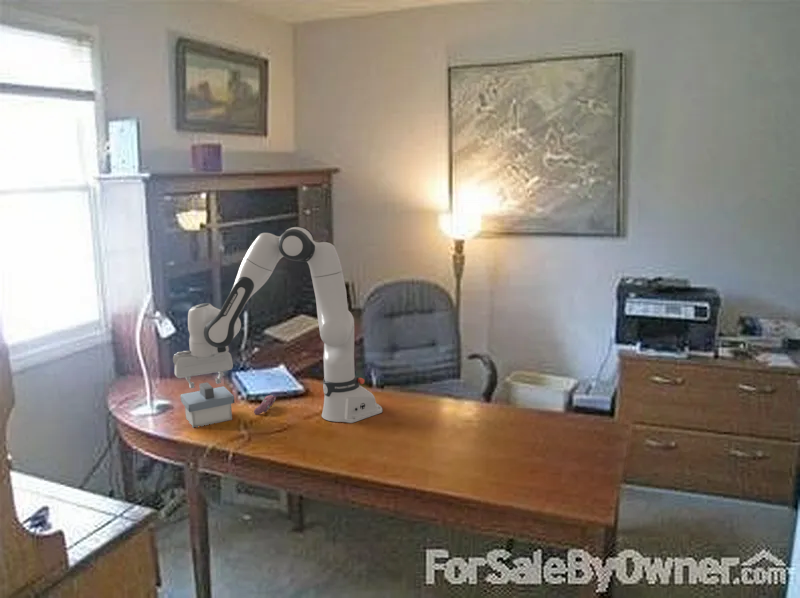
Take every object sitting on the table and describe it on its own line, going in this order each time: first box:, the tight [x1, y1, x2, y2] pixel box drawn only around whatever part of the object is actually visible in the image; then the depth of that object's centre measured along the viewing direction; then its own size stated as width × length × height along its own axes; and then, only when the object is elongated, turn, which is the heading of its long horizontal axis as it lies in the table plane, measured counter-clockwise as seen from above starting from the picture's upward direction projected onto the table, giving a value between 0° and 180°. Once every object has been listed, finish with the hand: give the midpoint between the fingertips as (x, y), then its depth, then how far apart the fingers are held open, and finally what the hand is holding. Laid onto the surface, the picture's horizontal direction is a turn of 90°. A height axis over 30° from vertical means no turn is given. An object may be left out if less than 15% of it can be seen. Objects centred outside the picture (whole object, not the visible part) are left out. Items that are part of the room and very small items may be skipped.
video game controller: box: [253, 394, 277, 416], centre depth 241 cm, size 10×5×7 cm, turn 169°
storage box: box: [184, 404, 233, 429], centre depth 233 cm, size 14×11×8 cm
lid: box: [180, 382, 235, 412], centre depth 232 cm, size 16×13×6 cm
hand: (205, 385), depth 231 cm, fingers open, 8 cm apart
